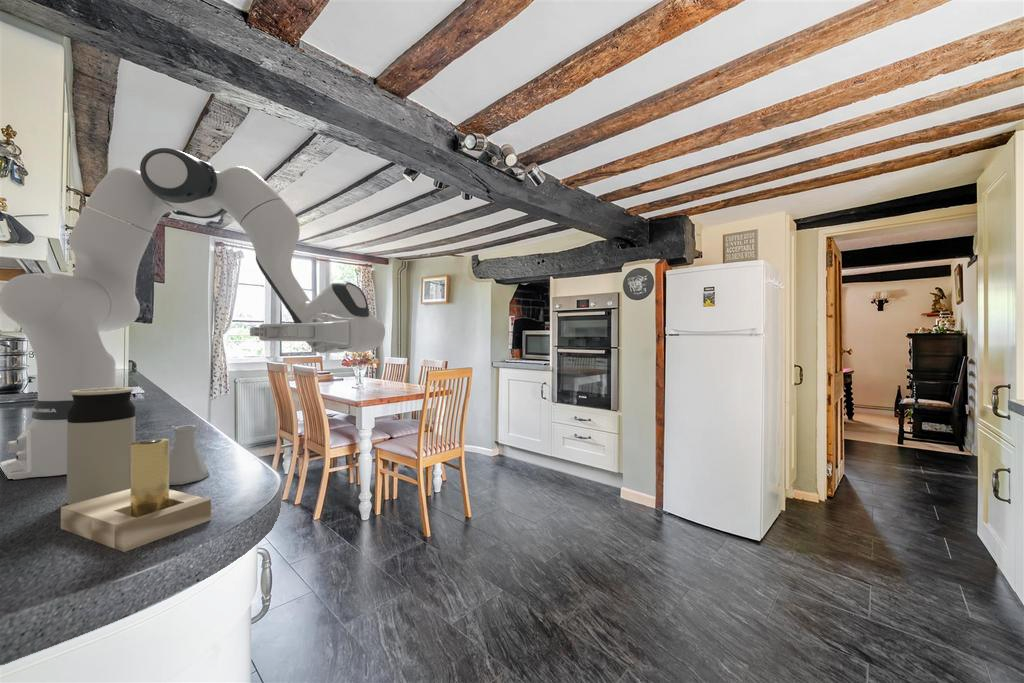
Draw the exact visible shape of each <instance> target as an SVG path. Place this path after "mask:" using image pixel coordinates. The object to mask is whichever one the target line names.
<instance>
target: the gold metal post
mask: <svg viewBox="0 0 1024 683" xmlns="http://www.w3.org/2000/svg"><path fill="white" fill-rule="evenodd" d="M169 457H170V439H169V438H150V439H144V440H143V439H141V440H138V441H135V442H134V443H132V444H131V516H132V517H135V518H137V517H140V516H144V515H147V514H150V513H153V512H156V511H159V510H163V509H166V508H169V489H170V485H169Z"/></svg>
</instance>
